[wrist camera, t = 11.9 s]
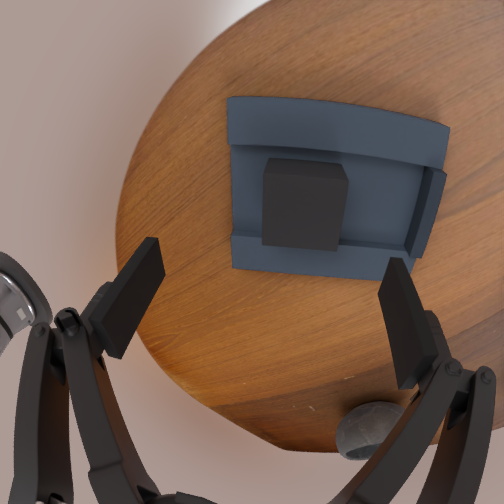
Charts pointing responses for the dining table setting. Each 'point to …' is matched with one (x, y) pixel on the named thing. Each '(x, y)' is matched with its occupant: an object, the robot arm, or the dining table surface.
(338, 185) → the black block
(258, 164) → the dock pad
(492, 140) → the dining table surface
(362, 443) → the bowl
